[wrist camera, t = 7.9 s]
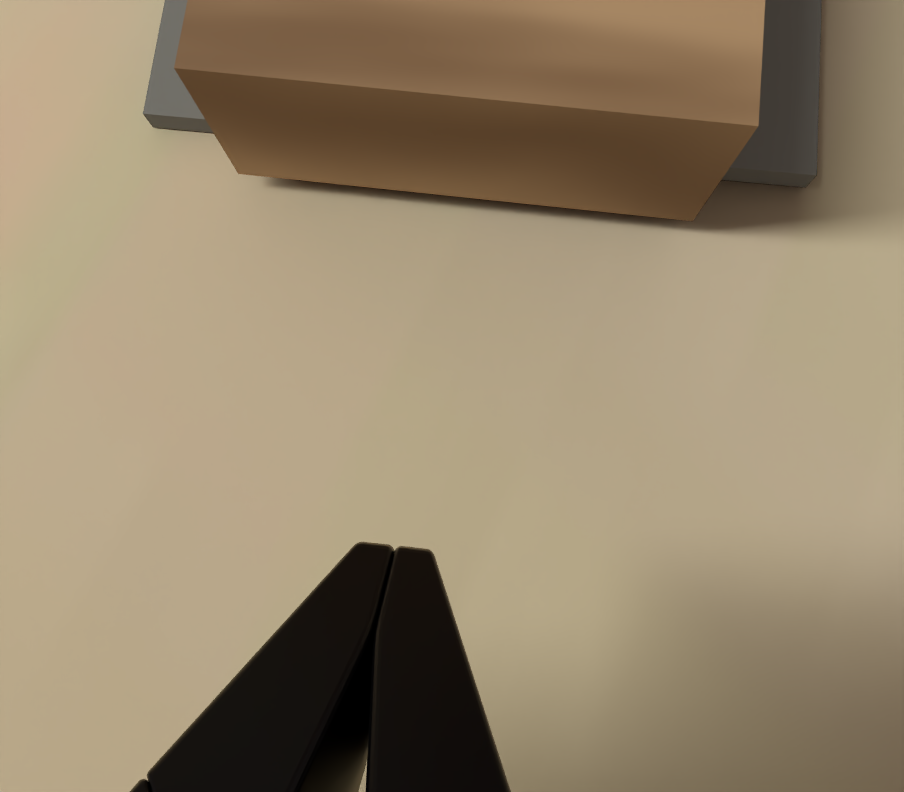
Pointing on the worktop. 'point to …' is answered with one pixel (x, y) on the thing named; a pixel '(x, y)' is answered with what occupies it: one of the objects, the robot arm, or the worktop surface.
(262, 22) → the walnut slab
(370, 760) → the robot arm
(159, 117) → the mat
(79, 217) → the worktop surface
